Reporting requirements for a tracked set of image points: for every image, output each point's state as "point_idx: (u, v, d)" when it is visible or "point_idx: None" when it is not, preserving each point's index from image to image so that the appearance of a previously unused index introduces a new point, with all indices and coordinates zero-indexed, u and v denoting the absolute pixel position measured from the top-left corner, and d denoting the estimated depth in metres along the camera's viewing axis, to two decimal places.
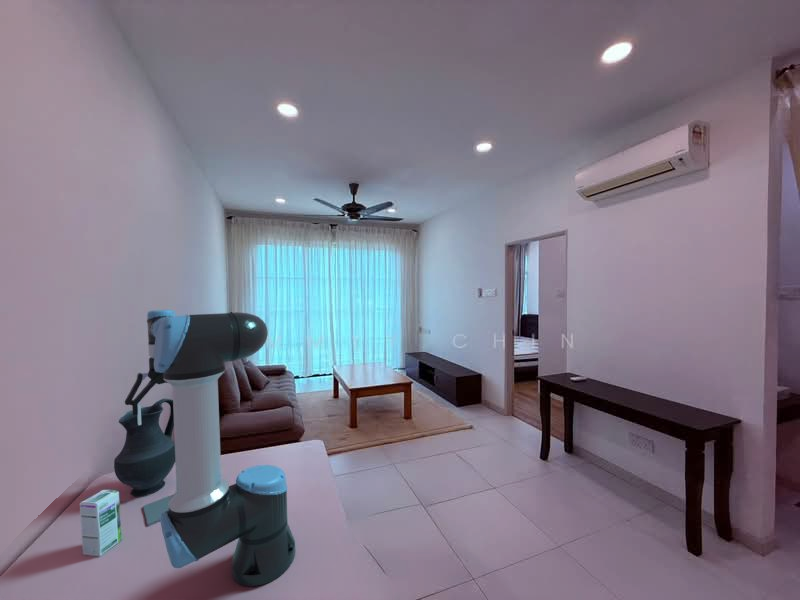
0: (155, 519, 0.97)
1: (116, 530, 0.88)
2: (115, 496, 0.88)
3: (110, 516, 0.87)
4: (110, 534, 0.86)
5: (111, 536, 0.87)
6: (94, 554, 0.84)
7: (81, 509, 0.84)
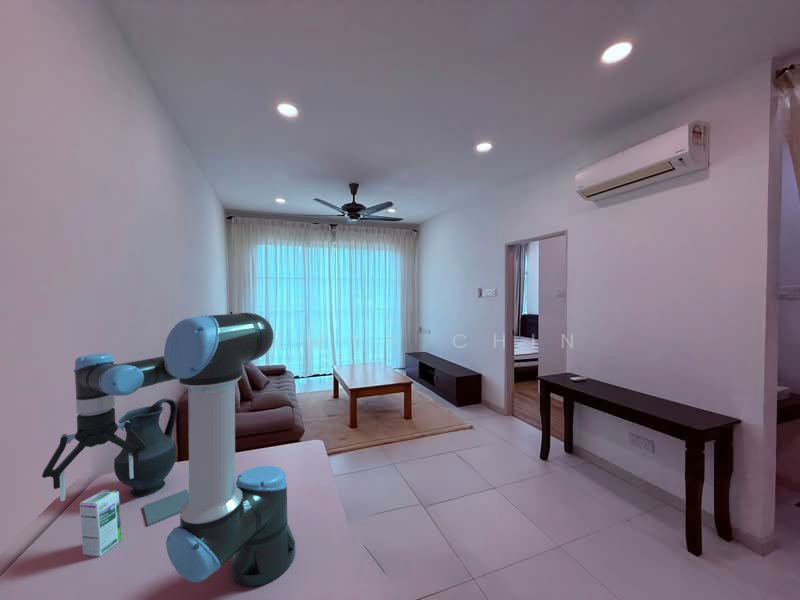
0: (155, 519, 0.97)
1: (116, 530, 0.88)
2: (115, 496, 0.88)
3: (110, 516, 0.87)
4: (110, 534, 0.86)
5: (111, 536, 0.87)
6: (94, 554, 0.84)
7: (81, 509, 0.84)
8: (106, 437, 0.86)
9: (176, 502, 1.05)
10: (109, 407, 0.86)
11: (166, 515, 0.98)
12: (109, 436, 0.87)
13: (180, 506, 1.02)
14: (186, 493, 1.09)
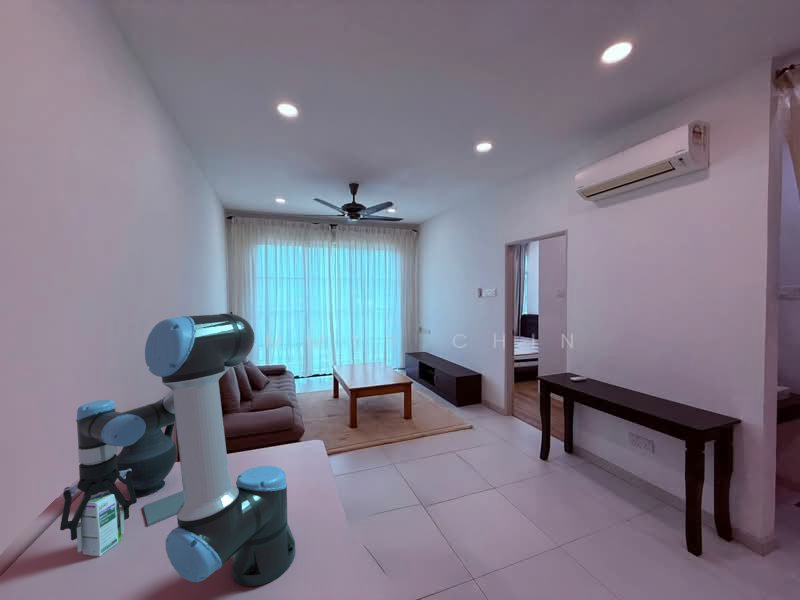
0: (155, 519, 0.97)
1: (116, 530, 0.88)
2: None
3: (110, 516, 0.87)
4: (110, 534, 0.86)
5: (111, 536, 0.87)
6: (94, 554, 0.84)
7: None
8: (108, 484, 0.87)
9: (176, 502, 1.05)
10: (111, 454, 0.86)
11: (166, 515, 0.98)
12: (110, 485, 0.87)
13: (180, 506, 1.02)
14: None
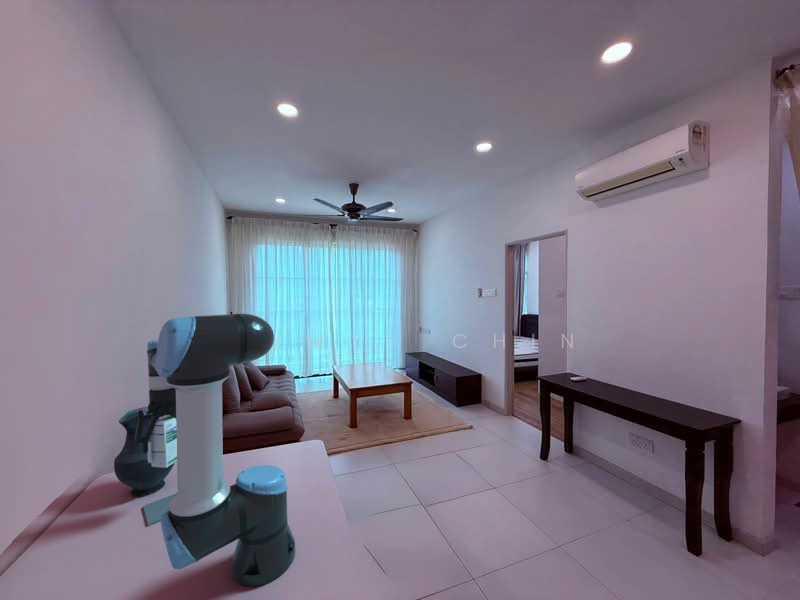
0: (155, 519, 0.97)
1: None
2: None
3: (173, 436, 1.02)
4: (173, 451, 1.02)
5: (174, 452, 1.02)
6: (161, 466, 1.00)
7: None
8: (172, 409, 1.02)
9: None
10: None
11: None
12: (173, 409, 1.03)
13: None
14: None
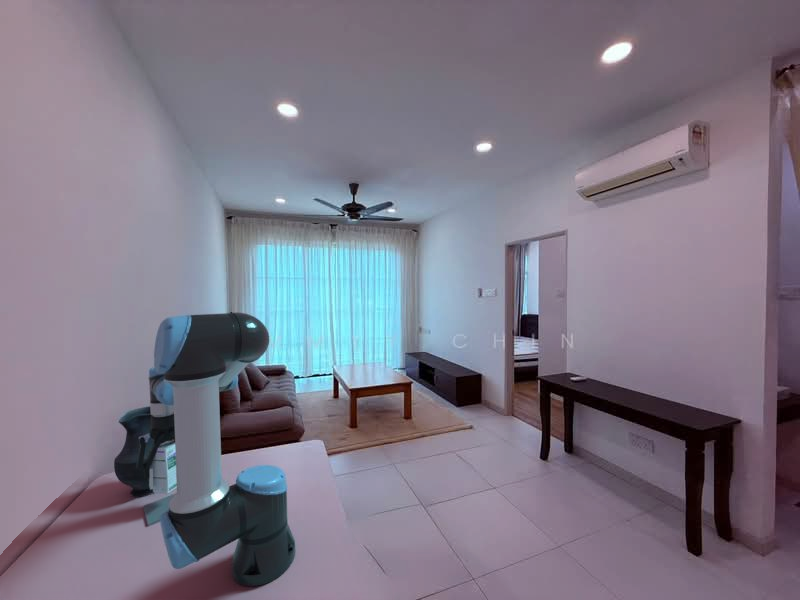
0: (155, 519, 0.97)
1: None
2: None
3: (175, 461, 1.03)
4: (175, 476, 1.03)
5: None
6: (163, 492, 1.00)
7: None
8: (173, 435, 1.03)
9: None
10: None
11: None
12: (174, 435, 1.03)
13: None
14: None
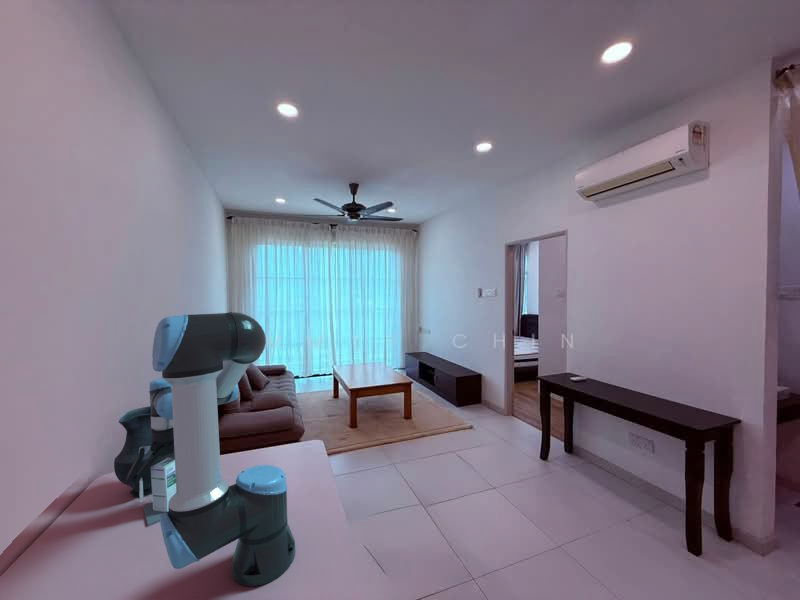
0: (155, 519, 0.97)
1: None
2: None
3: (174, 479, 1.02)
4: None
5: None
6: (162, 510, 1.00)
7: (152, 472, 1.00)
8: (174, 448, 1.03)
9: None
10: None
11: None
12: None
13: None
14: None
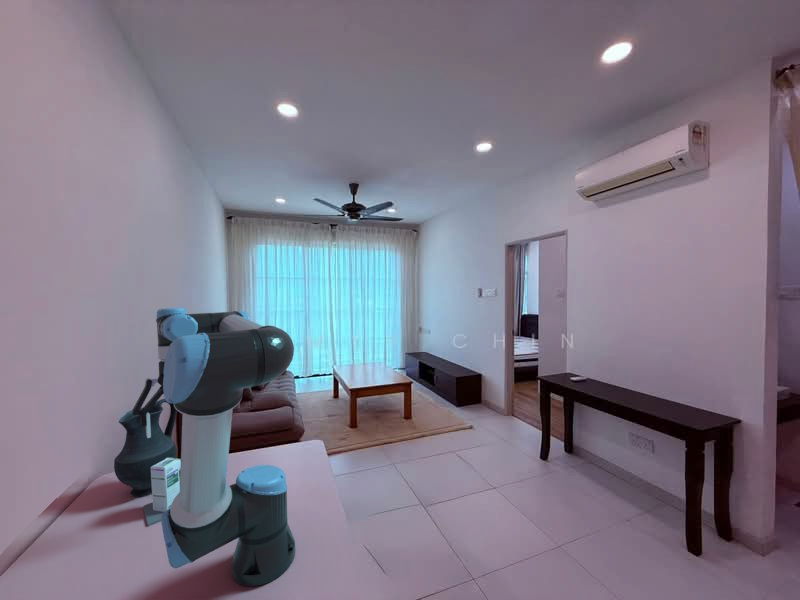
0: (155, 519, 0.97)
1: (179, 491, 1.04)
2: (178, 463, 1.04)
3: (174, 479, 1.02)
4: (174, 494, 1.02)
5: (175, 496, 1.03)
6: (162, 510, 1.00)
7: (152, 472, 1.00)
8: None
9: None
10: None
11: None
12: None
13: None
14: None
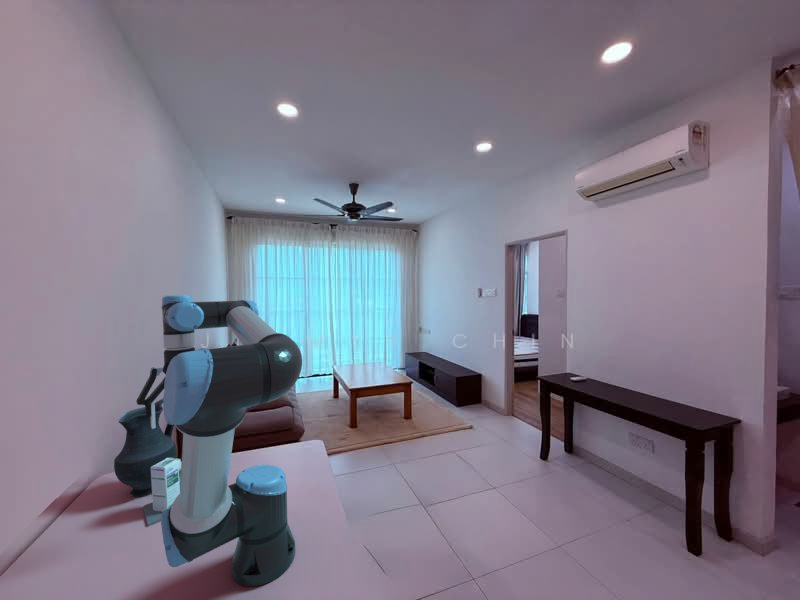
0: (155, 519, 0.97)
1: (179, 491, 1.04)
2: (178, 463, 1.04)
3: (174, 479, 1.02)
4: (174, 494, 1.02)
5: (175, 496, 1.03)
6: (162, 510, 1.00)
7: (152, 472, 1.00)
8: None
9: None
10: (192, 344, 0.92)
11: None
12: None
13: None
14: None
